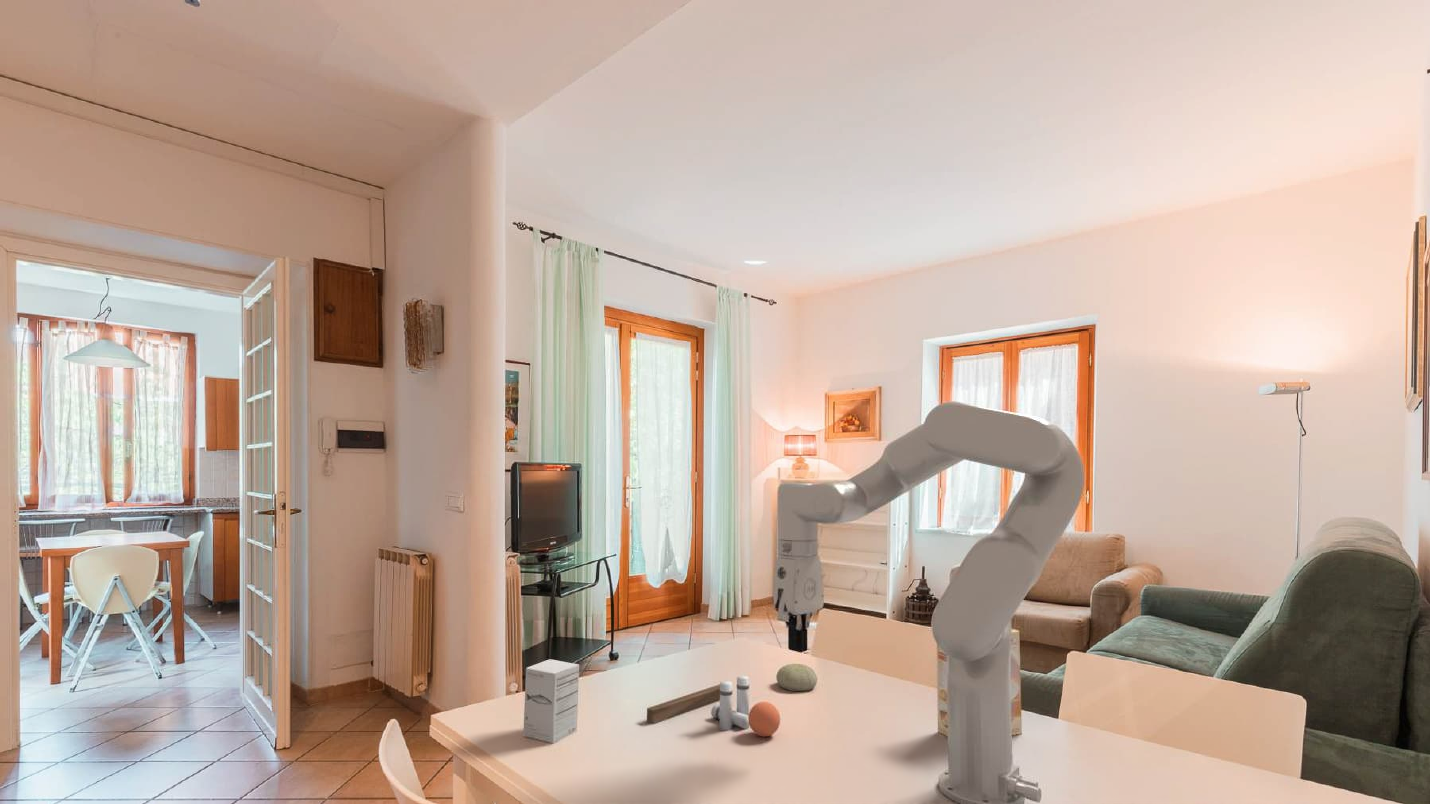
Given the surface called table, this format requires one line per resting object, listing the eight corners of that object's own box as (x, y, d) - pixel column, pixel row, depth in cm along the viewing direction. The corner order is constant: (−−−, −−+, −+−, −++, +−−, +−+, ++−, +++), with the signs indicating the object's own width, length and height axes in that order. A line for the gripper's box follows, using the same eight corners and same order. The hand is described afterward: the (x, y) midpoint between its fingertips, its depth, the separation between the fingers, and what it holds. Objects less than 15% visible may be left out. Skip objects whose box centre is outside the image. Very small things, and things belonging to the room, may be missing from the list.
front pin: (751, 714, 135) (719, 703, 140) (742, 716, 133) (711, 705, 139) (750, 727, 134) (718, 716, 140) (742, 730, 132) (710, 718, 138)
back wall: (728, 697, 151) (728, 685, 152) (653, 723, 135) (653, 710, 136) (721, 695, 153) (722, 683, 153) (646, 721, 137) (646, 708, 137)
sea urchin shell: (820, 686, 154) (794, 658, 156) (795, 710, 155) (770, 682, 156) (822, 673, 163) (797, 648, 165) (798, 696, 164) (774, 670, 165)
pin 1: (734, 727, 134) (735, 683, 134) (726, 731, 132) (726, 686, 133) (725, 724, 135) (725, 680, 136) (716, 727, 134) (717, 683, 134)
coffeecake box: (962, 745, 126) (959, 636, 128) (936, 731, 133) (934, 628, 134) (1024, 734, 132) (1021, 630, 134) (996, 721, 138) (993, 622, 140)
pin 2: (751, 721, 137) (751, 677, 138) (743, 724, 136) (743, 680, 136) (742, 717, 139) (742, 674, 140) (733, 721, 137) (734, 677, 138)
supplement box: (521, 737, 128) (524, 667, 130) (548, 724, 135) (550, 657, 136) (552, 745, 125) (554, 673, 126) (578, 731, 131) (580, 663, 133)
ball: (759, 696, 135) (764, 729, 134) (739, 705, 131) (744, 739, 130) (783, 698, 131) (788, 732, 130) (764, 707, 127) (769, 742, 126)
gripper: (789, 554, 120) (789, 662, 118) (837, 547, 131) (837, 646, 129) (756, 550, 125) (755, 654, 124) (804, 544, 136) (805, 639, 134)
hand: (797, 650), depth 126 cm, fingers closed
